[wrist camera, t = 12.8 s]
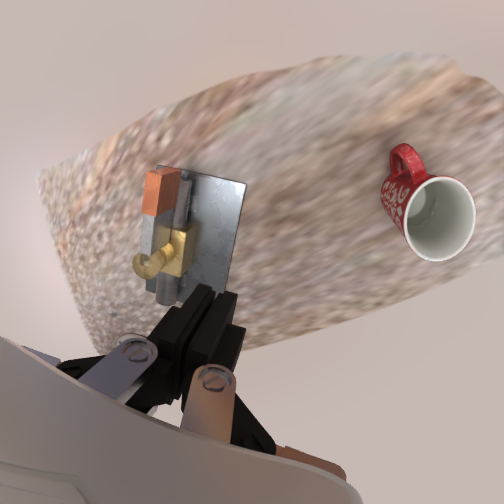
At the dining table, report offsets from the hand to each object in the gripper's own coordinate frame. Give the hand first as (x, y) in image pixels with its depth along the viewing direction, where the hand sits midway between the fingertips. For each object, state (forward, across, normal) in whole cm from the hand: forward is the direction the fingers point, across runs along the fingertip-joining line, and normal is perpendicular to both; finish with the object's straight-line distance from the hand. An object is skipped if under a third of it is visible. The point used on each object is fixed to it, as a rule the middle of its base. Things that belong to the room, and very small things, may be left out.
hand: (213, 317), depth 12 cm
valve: (+31, +12, +11) cm, 35 cm away
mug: (+31, -16, -6) cm, 36 cm away
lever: (+26, +14, +6) cm, 30 cm away
